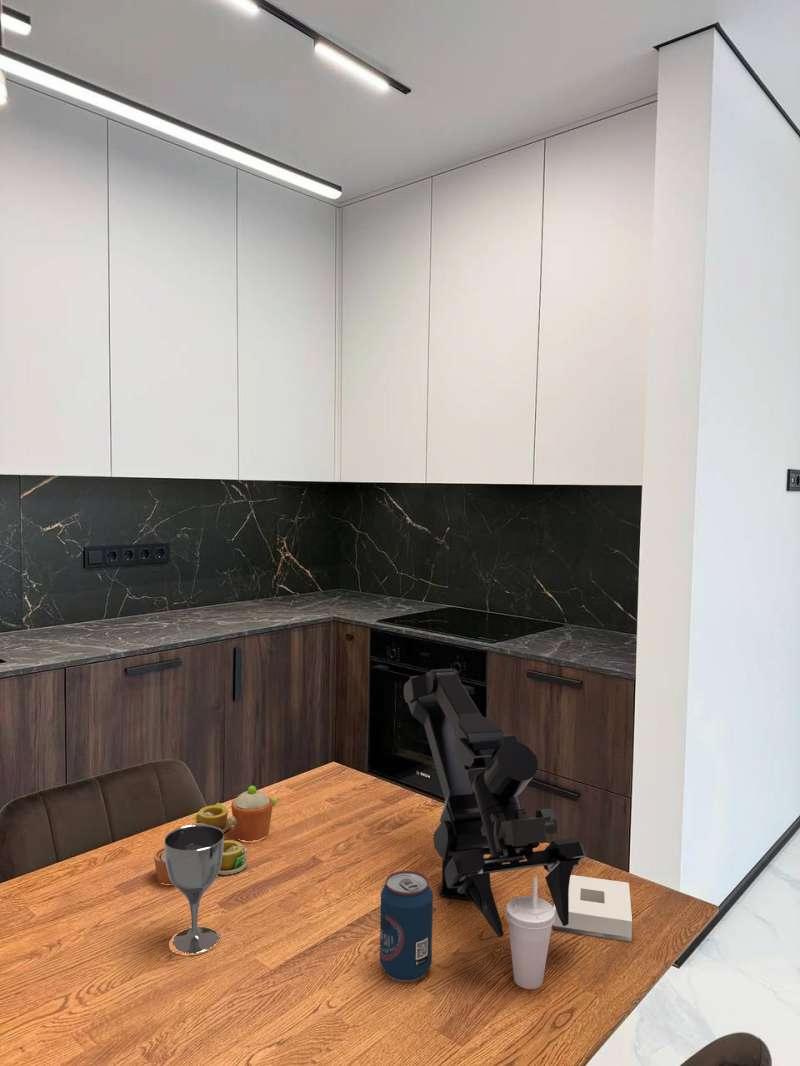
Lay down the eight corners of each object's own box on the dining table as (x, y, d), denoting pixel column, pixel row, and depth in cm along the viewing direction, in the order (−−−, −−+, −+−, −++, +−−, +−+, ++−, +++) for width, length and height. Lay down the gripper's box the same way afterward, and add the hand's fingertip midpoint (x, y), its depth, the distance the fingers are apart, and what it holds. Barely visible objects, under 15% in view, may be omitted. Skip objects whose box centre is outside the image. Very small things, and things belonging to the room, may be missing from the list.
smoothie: (553, 999, 97) (556, 891, 96) (501, 992, 98) (504, 885, 97) (553, 968, 103) (556, 866, 102) (505, 961, 104) (507, 861, 103)
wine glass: (234, 931, 110) (234, 829, 109) (202, 963, 103) (202, 854, 102) (186, 920, 113) (186, 820, 112) (152, 950, 105) (152, 844, 104)
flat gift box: (552, 929, 112) (553, 909, 112) (556, 891, 123) (556, 872, 122) (631, 941, 109) (632, 921, 109) (628, 901, 120) (628, 882, 120)
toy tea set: (202, 818, 147) (203, 769, 147) (281, 825, 145) (281, 775, 145) (137, 889, 122) (137, 829, 121) (231, 898, 119) (231, 838, 119)
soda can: (369, 964, 103) (370, 877, 102) (410, 946, 107) (412, 863, 106) (400, 992, 98) (401, 900, 97) (442, 972, 102) (444, 884, 101)
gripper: (453, 794, 100) (485, 922, 90) (580, 780, 106) (624, 900, 96) (432, 827, 108) (459, 948, 98) (551, 813, 114) (588, 926, 104)
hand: (534, 930), depth 99 cm, fingers open, 9 cm apart
